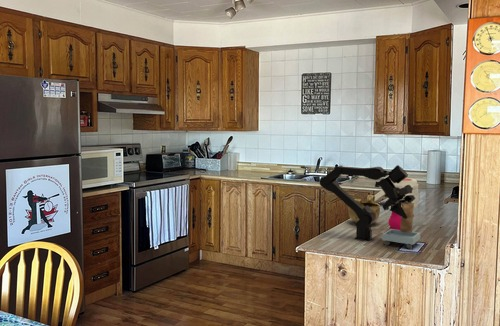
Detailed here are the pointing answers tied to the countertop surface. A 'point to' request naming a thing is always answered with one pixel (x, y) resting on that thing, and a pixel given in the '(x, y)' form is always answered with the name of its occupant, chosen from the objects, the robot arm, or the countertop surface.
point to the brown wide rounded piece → (368, 202)
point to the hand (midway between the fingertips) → (409, 217)
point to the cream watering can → (403, 183)
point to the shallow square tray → (401, 237)
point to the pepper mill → (394, 221)
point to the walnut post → (407, 223)
